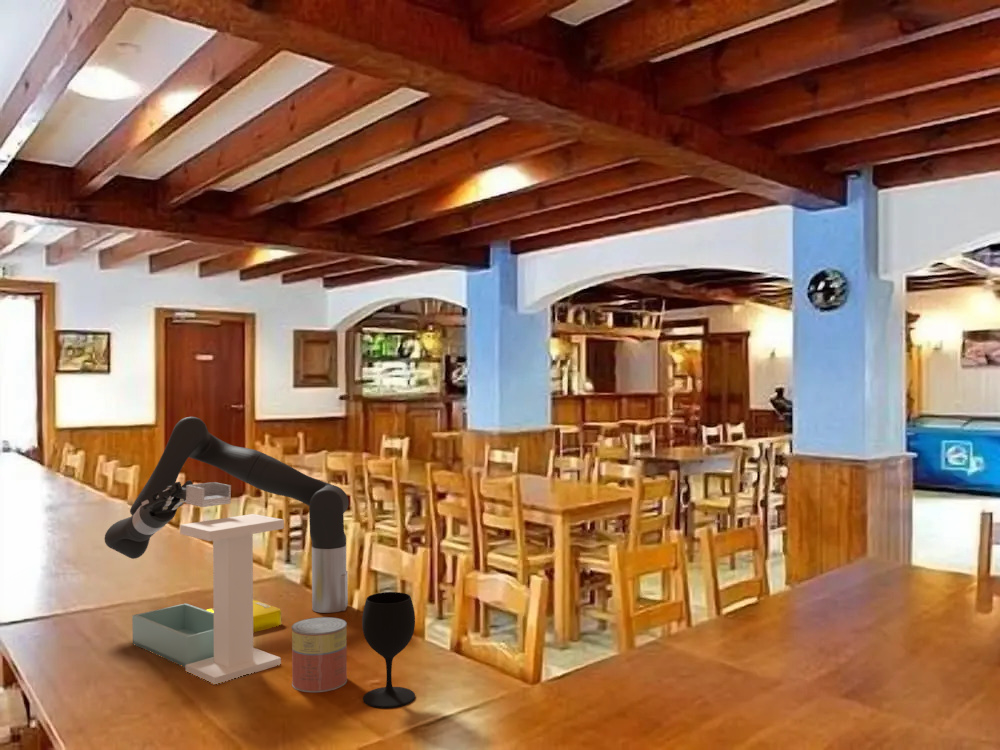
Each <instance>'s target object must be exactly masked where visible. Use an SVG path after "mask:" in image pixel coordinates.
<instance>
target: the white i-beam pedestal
mask: <svg viewBox="0 0 1000 750" xmlns="http://www.w3.org/2000/svg"><path fill="white" fill-rule="evenodd" d="M284 525H285V519H284V518H283V519H282V518H277V517H272V516H267V515H261V514H256V513H250V514H244V515H243V514H242V515H237V516H230V517H223V518H222V517H221V518H215V519H209V520H203V521H197V522H196V521H195V522H189V523H183V524H179V528H180V529H179V534H180V535H182V536H187V537H191V538H195V539H199V540H203V541H207V542H212V558H213V561H212V565H213V566H212V567H213V569H212V571H213V572H212V574H213V577H212V578H213V581H212V583H213V585H212V586H213V592H212V593H213V594H212V595H213V596H212V597H213V601H212V602H213V603H212V604H213V608H214V657H211V658H208V659H204V660H201V661H197V662H194V663H190V664H187V665H185V668H184V669H185V671H187V672H189V673H192V674H194V675H196V676H198V677H200V678H199V679H201V678H203V679H205V680H207V681H209V682H211V683H210V684H212V683H213V684H212V685H214V684H217V685H219V684H218V683H220V684H222V683H221V682H223V683H226V682H229V681H228V680H230V681H232V680H231V679H233V680H235V679H234V678H236V679H239V678H241V677H240V676H242V677H244V676H243V675H246V674H249V675H252V674H255V673H258V672H262V671H264V670H267V669H271V668H274V667H278V666H280V664H281V665H282V660H281V659H282V658H281V657H280V656H277V655H275V654H272V653H270V652H267V651H264V650H261V649H259V648H255V647H254V632H253V600H254V563H253V562H254V557H253V555H254V551H253V549H254V548H253V547H254V546H253V541H254V540H253V539H254V538H253V536H254V535H255V534H261V533H266V532H273V531H277V530H279V531H280V530H282V529H285V526H284ZM277 665H278V666H277ZM187 672H186V673H187ZM254 672H255V673H254ZM189 673H188V674H189ZM251 673H252V674H251ZM192 674H191V675H192ZM194 675H193V676H194ZM196 676H195V677H196ZM246 676H247V675H246ZM198 677H197V678H198ZM238 677H239V678H238ZM203 679H202V680H203ZM205 680H204V681H205ZM207 681H206V682H207ZM225 681H226V682H225ZM209 682H208V683H209Z"/></svg>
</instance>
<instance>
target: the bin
mask: <svg viewBox="0 0 1000 750" xmlns="http://www.w3.org/2000/svg"><path fill="white" fill-rule="evenodd" d="M131 618H132V619H131V620H132V645H133V644H135V645H136V646H135V645H134V646H135V647H137V646H139V647H141V648H144V649H146V650H148V651H151V652H153V653H155V654H157V655H160V656H162V657H164V658H166V659H168V660H167V661H169V660H170V661H169V662H171V661H172V662H171V663H173V662H175V663H177V664H176V665H178V664H179V665H178V666H180V665H182V666H183V667H182V666H181V667H182V668H184V667H185V665H187V664H190V663H194V662H197V661H201V660H204V659H208V658H211V657H214V613H213V612H210V611H207V609H204V608H202V607H198V606H195V605H191V604H190V603H182V604H176V605H173V606H167V607H162V608H159V609H155V610H149V611H146V612H141V613H137V614H132V617H131ZM139 647H138V648H139ZM141 648H140V649H141ZM144 649H143V650H144ZM146 650H145V651H146ZM148 651H147V652H148ZM153 653H152V654H153ZM155 654H154V655H155ZM157 655H156V656H157ZM160 656H159V657H160ZM162 657H161V658H162ZM164 658H163V659H164ZM166 659H165V660H166ZM175 663H174V664H175Z"/></svg>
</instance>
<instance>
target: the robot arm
mask: <svg viewBox="0 0 1000 750" xmlns="http://www.w3.org/2000/svg"><path fill="white" fill-rule="evenodd" d="M189 458H190V459H194V460H196V461H198V462H199V461H200V462H202V463H204V464H207V465H211V466H213V467H215V468H217V469H220V470H221V471H223V472H225V473H227V474H229V475H230V476H232V477H234V478H236V479H238V480H240V481H243V482H244V483H246V484H248V485H250V486H252V487H254V488H257V489H259V490H261V491H263V492H266V493H269V494H270V493H271V494H274V495H277V496H282V497H287V498H291V499H294V500H297V501H299V502H301V503H303V504H305V505H306V506H308V507H309V509H308V512H309V513H308V514H309V515H308V517H309V520H308V521H309V536H310V539H311V604H312V605H311V607H312V611H313V612H316V613H321V614H322V613H324V614H327V613H328V614H330V613H338V612H345V611H346V610H347V607H348V605H349V603H348V600H349V599H348V595H349V594H348V588H349V587H348V585H349V584H348V582H349V581H348V570H347V536H346V533H345V525H344V519H345V517H344V516H345V515H344V514H345V513H346V511H347V509H348V507H349V498H348V495H347V493H346V492H345V491H344V490H343V489H342V488H341V487H340V486H337V485H335V484H331V483H330V482H329V483H328V482H326V481H322V480H320V479H316V478H314V477H311V476H309V475H307V474H304V473H303V472H302V471H299V470H297V469H296V468H294V467H292V466H290V465H289V464H286V463H284V462H283V461H281V460H279V459H277V458H275V457H273V456H270V455H269V454H266V453H264V452H261V451H259V450H256V449H252V448H247V447H242V446H238V445H237V446H236V445H234V444H233V445H232V444H230V443H228V442H226V441H223V440H222V439H220V438H218V437H217V436H215V435H213V434H212V433H210V432H209V429H208V427H207V425H206V423H205V422H204V421H203V420H202V419H201V418H199V417H196V416H188V417H183V418H181V419H180V420H178V422H177V423H176V424H175V426H174V427H173V429H172V431H171V434H170V437H169V439H168V441H167V444H166V446H165V448H164V450H163V453H162V455H161V456H160V459H159V461H158V463H157V465H156V466H155V468H154V470H153V471H152V473H151V475H150V477H149V478H148V480H147V481H146V484H145V485H144V487H143V488H142V489H141V491H140V493H139V494H138V495H137V497H136V499H135V500H134V502H133V503H132V504H131V507H130V509H129V512H130V515H131V516H130V517H126V518H123V519H120V520H117V522H116V521H115V523H113V524H112V525H110V527H109V528H108V529H107V530H106V531H105V534H104V543H105V545H106V546H107V547H108V548H109V549H111V550H113V551H115V552H118V553H120V554H121V555H123V556H125V557H128V558H130V559H133V560H134V559H135V560H137V559H138V558H140V557H142V556H143V555H144V554H145V553H146V551H147V549H148V546H149V545H150V544H149V542H150V540H151V538H152V537H153V536H154V535H155V534H156V533H157V532H159V531H160V530H161V529H163V528H164V527H165V526H166V525H168V523H169V522H171V520H173V518H175V516H176V515H177V512H178V511H177V510H178V508H180V507H182V506H183V504H184V503H186V500H185V499H180V498H176V497H173V496H176V495H177V494H178V493H179V492H180V491H181V490H182V487H186V485H193V484H194V483H193V482H192V480H186V482H185V483H184V484H183V485H182V483H181V482H180V481H177V480H178V478H179V475H180V473H181V470H182V468H183V466H184V465H185V463H186V462H187V460H188V459H189ZM167 486H171V487H170V488H167Z"/></svg>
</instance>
